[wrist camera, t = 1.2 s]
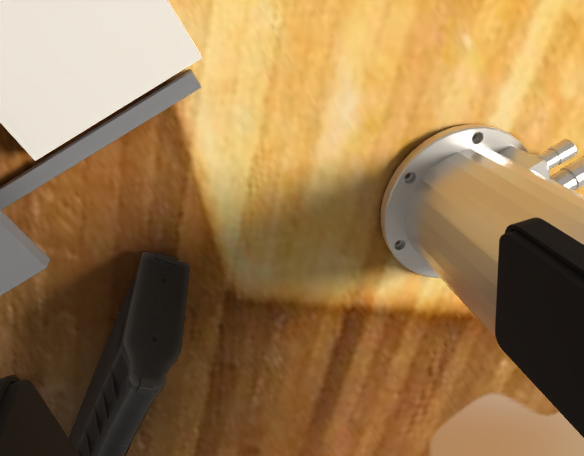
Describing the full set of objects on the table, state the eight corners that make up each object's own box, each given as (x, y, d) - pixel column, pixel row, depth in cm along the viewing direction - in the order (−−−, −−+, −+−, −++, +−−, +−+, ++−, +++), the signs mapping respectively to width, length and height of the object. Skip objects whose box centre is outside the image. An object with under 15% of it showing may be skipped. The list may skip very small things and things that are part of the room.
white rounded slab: (112, -92, 24) (106, -100, 22) (200, 52, 28) (202, 58, 25) (-65, 22, 24) (-89, 25, 22) (46, 147, 28) (35, 161, 26)
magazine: (149, 284, 24) (-38, 808, 25) (211, 300, 25) (29, 799, 27) (139, 224, 40) (26, 545, 42) (177, 236, 41) (66, 547, 43)
